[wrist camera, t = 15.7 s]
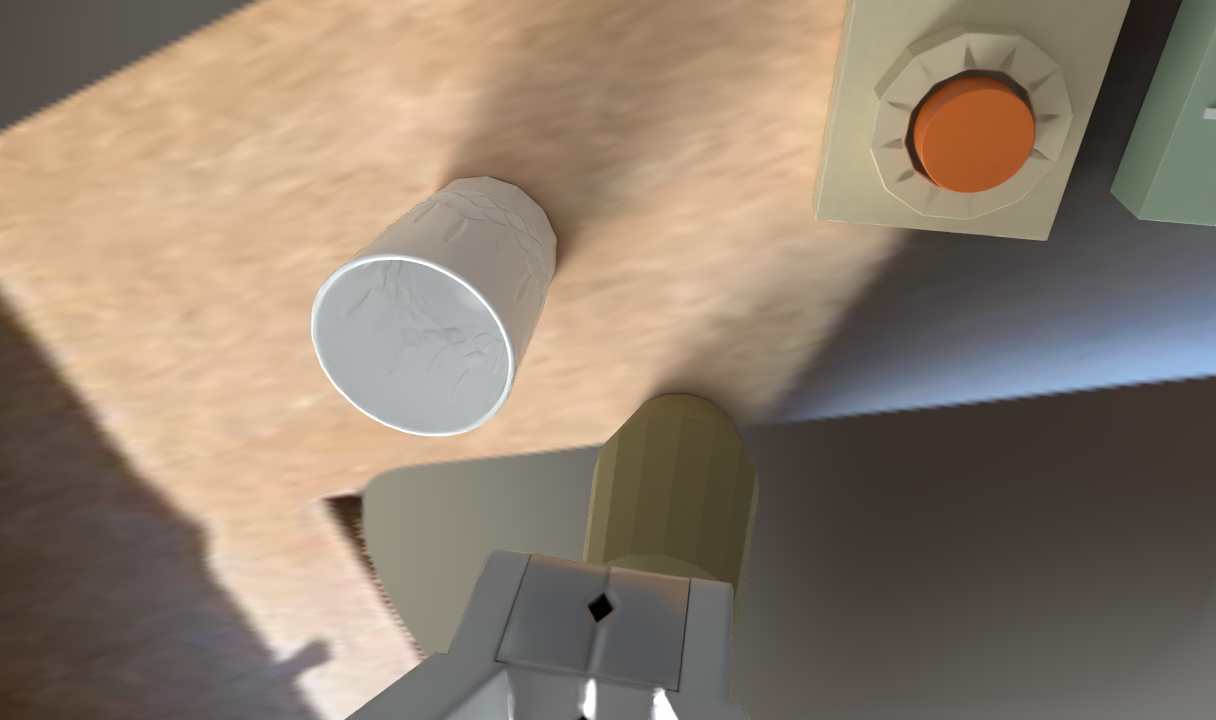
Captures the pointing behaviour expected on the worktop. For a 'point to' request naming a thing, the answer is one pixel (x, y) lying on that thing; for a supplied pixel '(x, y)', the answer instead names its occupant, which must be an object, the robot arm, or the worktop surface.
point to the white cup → (438, 309)
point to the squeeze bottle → (675, 495)
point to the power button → (973, 134)
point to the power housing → (933, 57)
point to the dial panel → (1176, 128)
